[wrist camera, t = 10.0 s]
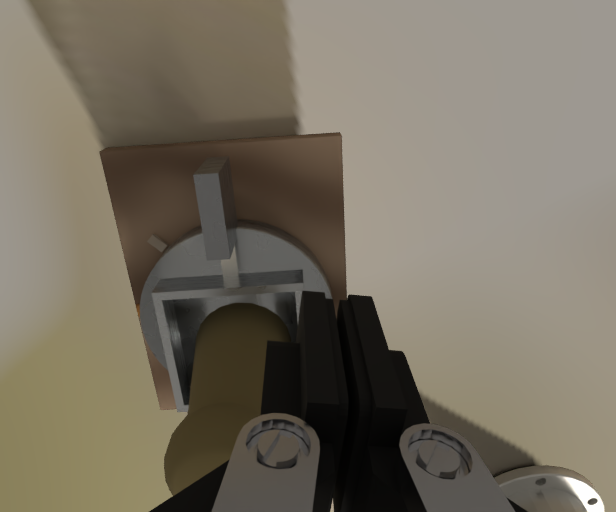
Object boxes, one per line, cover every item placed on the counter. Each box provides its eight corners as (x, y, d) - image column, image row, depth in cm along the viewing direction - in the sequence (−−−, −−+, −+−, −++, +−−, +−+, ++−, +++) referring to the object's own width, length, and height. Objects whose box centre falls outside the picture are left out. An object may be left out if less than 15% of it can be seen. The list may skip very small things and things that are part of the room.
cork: (178, 324, 29) (115, 468, 19) (265, 287, 28) (248, 418, 18) (224, 394, 31) (191, 557, 21) (307, 362, 30) (313, 515, 20)
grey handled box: (335, 373, 33) (341, 424, 29) (166, 384, 33) (146, 437, 29) (325, 146, 27) (331, 165, 22) (116, 160, 27) (80, 182, 22)
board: (348, 386, 36) (350, 399, 34) (164, 399, 36) (159, 412, 34) (339, 132, 28) (341, 136, 27) (107, 147, 28) (97, 152, 27)
